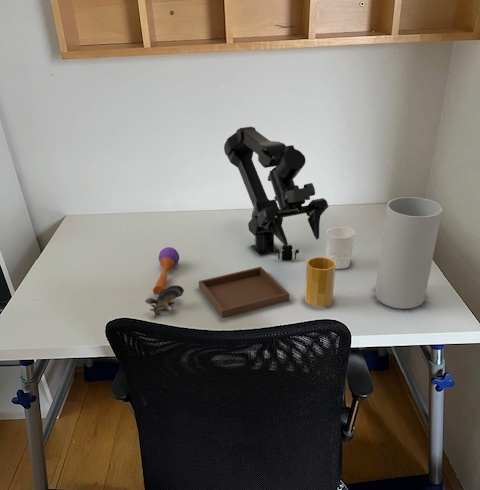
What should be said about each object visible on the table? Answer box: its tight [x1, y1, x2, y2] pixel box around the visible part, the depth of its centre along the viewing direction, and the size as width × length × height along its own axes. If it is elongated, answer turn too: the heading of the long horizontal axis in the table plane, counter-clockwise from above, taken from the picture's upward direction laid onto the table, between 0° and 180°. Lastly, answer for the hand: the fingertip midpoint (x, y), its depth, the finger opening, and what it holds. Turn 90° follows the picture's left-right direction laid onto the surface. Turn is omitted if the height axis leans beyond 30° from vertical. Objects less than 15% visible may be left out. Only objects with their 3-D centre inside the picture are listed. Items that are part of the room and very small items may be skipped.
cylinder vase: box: [374, 196, 443, 310], centre depth 133 cm, size 12×12×25 cm
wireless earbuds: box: [274, 244, 300, 262], centre depth 158 cm, size 7×2×5 cm, turn 86°
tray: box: [198, 266, 290, 319], centre depth 141 cm, size 17×19×3 cm
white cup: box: [325, 226, 356, 270], centre depth 154 cm, size 8×8×10 cm
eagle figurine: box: [144, 285, 185, 318], centre depth 136 cm, size 8×7×9 cm
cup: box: [304, 256, 336, 309], centre depth 136 cm, size 7×7×11 cm
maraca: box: [152, 246, 180, 295], centre depth 150 cm, size 6×6×20 cm
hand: (302, 242), depth 140 cm, fingers open, 9 cm apart
